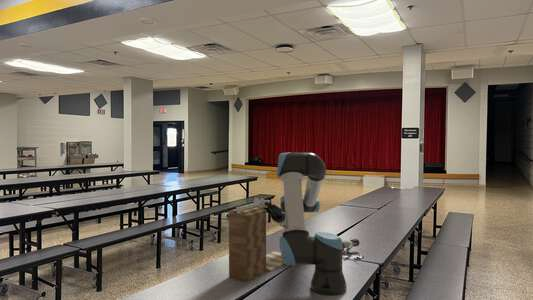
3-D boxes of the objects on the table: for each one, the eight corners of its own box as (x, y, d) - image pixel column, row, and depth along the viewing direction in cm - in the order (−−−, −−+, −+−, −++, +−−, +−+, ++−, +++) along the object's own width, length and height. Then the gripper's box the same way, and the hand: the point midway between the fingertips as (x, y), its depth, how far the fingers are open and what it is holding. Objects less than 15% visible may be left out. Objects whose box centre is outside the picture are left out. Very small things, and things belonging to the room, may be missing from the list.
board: (275, 252, 206) (275, 250, 206) (296, 256, 198) (296, 255, 198) (247, 265, 185) (247, 263, 185) (270, 271, 177) (270, 269, 177)
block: (265, 205, 187) (265, 199, 187) (270, 206, 186) (270, 200, 186) (235, 213, 168) (235, 207, 167) (241, 214, 166) (241, 208, 166)
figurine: (302, 242, 212) (348, 231, 220) (304, 254, 212) (350, 243, 220) (318, 254, 190) (368, 241, 198) (319, 267, 191) (370, 255, 198)
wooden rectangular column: (249, 267, 183) (249, 204, 182) (266, 271, 177) (266, 206, 176) (229, 277, 170) (228, 210, 169) (246, 282, 164) (245, 212, 163)
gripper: (291, 225, 190) (269, 209, 173) (265, 221, 199) (242, 205, 182) (294, 211, 193) (273, 194, 176) (269, 208, 202) (247, 191, 185)
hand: (258, 200), depth 179 cm, fingers closed on block, 3 cm apart
